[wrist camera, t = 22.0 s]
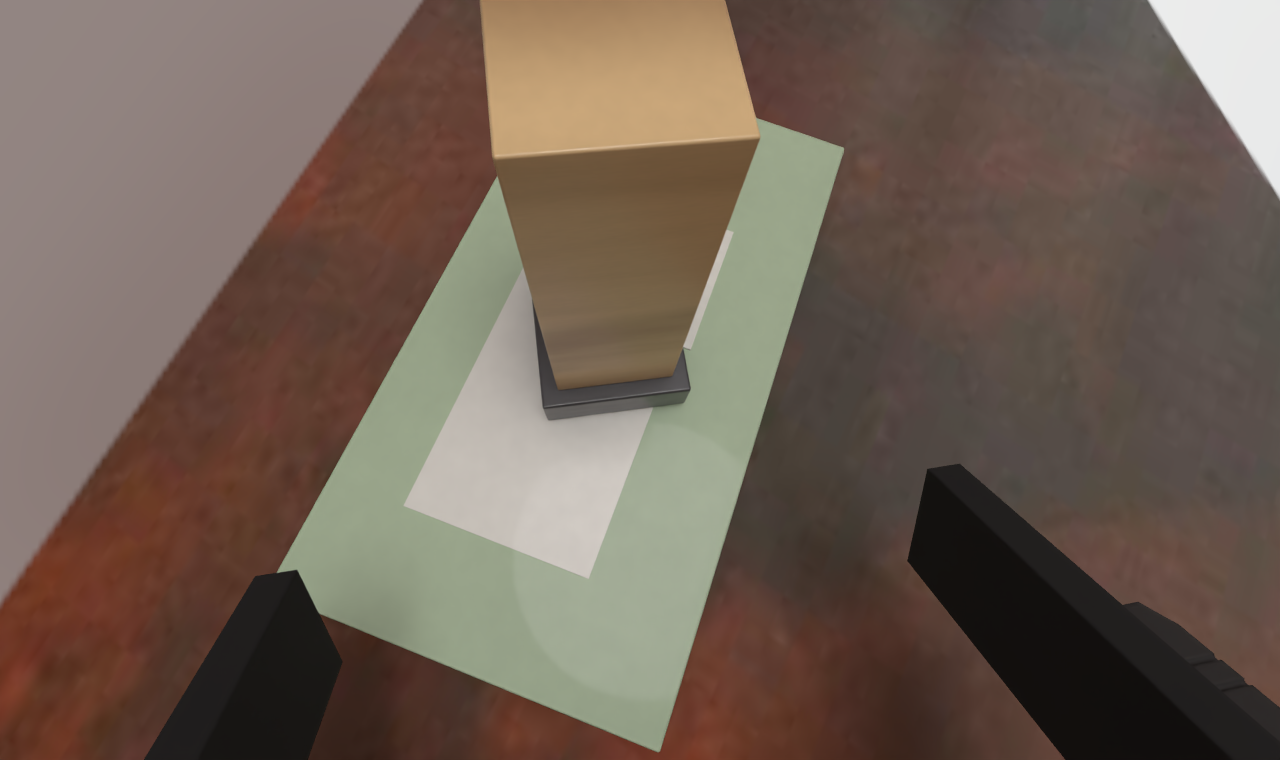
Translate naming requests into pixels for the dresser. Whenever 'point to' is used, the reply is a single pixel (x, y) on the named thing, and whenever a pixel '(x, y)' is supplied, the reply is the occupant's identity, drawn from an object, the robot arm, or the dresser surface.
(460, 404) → the chalk board
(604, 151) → the eraser
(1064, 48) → the dresser surface
